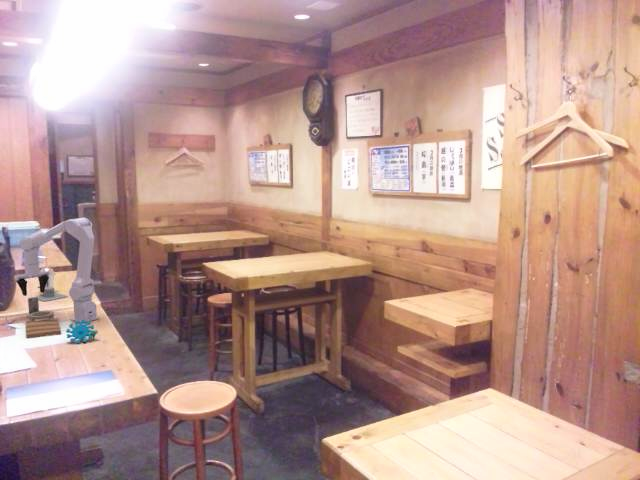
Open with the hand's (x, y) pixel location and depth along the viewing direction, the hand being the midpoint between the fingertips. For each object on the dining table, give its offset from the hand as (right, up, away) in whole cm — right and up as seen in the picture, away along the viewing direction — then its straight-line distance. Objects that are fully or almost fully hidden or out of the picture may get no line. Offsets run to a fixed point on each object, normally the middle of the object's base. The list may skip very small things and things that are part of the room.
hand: (33, 293), depth 238 cm
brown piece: (+12, -12, -15) cm, 22 cm away
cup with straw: (-16, -4, +44) cm, 47 cm away
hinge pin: (0, -10, +1) cm, 10 cm away
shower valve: (-11, -6, +35) cm, 37 cm away
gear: (+36, -15, -33) cm, 51 cm away
